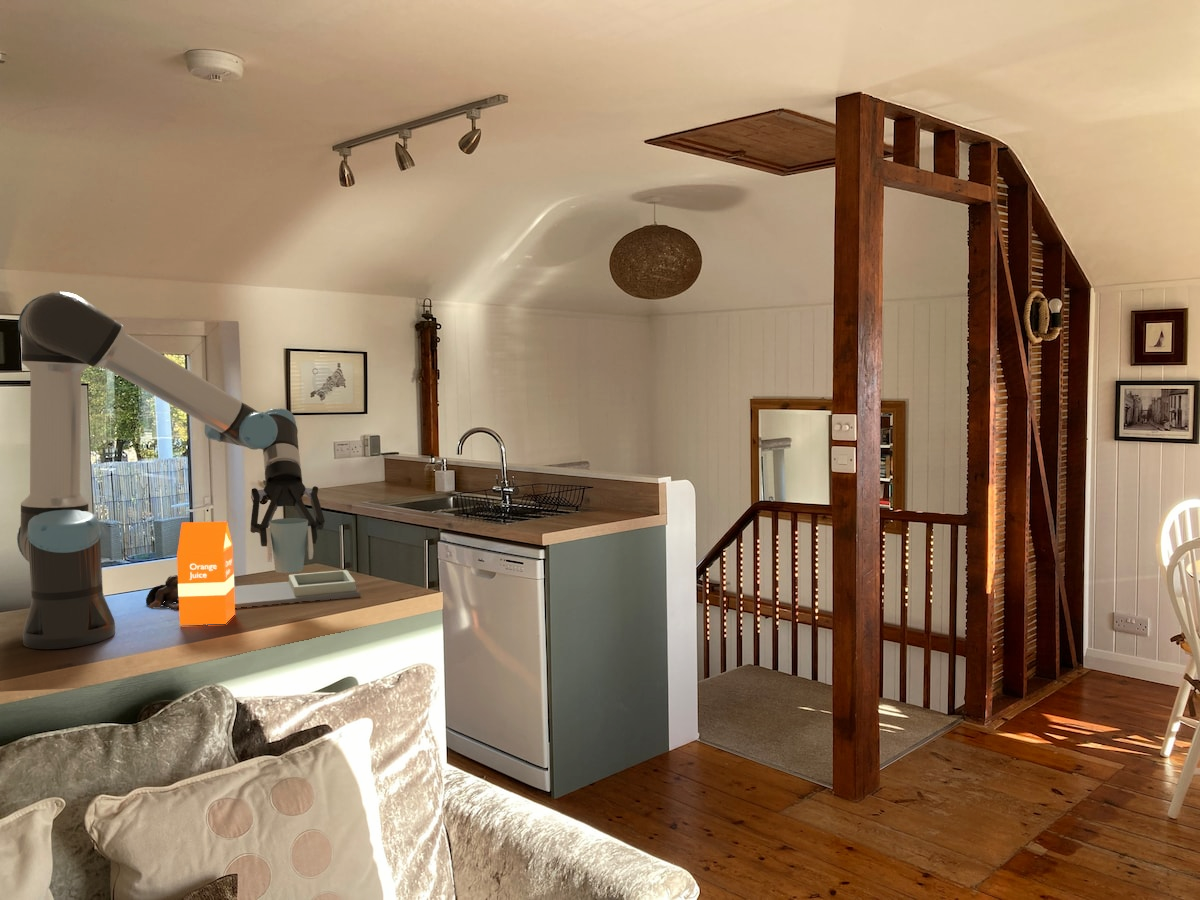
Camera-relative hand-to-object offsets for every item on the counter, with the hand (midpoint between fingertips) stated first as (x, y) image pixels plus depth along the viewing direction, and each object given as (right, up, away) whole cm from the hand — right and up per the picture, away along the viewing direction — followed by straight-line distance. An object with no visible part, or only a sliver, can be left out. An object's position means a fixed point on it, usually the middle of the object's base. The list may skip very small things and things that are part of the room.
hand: (290, 556), depth 193 cm
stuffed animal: (-29, -12, +12) cm, 34 cm away
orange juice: (-16, -13, -3) cm, 20 cm away
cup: (-1, -3, +3) cm, 5 cm away
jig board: (-5, -10, +19) cm, 22 cm away
